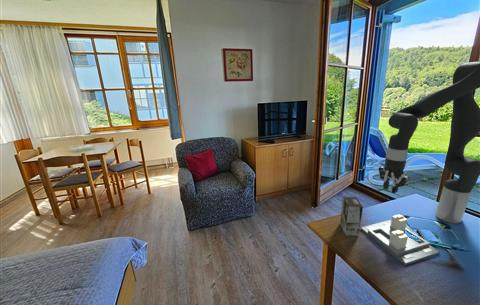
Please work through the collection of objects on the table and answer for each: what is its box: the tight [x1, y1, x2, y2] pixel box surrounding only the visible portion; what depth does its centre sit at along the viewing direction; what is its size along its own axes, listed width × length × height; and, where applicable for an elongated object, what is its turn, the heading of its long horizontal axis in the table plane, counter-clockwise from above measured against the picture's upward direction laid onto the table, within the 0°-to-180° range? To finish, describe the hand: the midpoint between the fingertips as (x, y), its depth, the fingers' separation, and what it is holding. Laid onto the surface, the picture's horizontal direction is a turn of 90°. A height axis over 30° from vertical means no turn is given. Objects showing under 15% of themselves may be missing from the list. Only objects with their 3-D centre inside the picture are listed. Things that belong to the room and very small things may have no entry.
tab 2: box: [389, 230, 408, 250], centre depth 85 cm, size 4×4×8 cm
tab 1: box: [390, 214, 409, 232], centre depth 95 cm, size 4×4×8 cm
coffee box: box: [339, 196, 364, 237], centre depth 98 cm, size 9×6×16 cm
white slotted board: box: [360, 219, 441, 266], centre depth 91 cm, size 18×22×3 cm
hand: (389, 190), depth 97 cm, fingers open, 3 cm apart
